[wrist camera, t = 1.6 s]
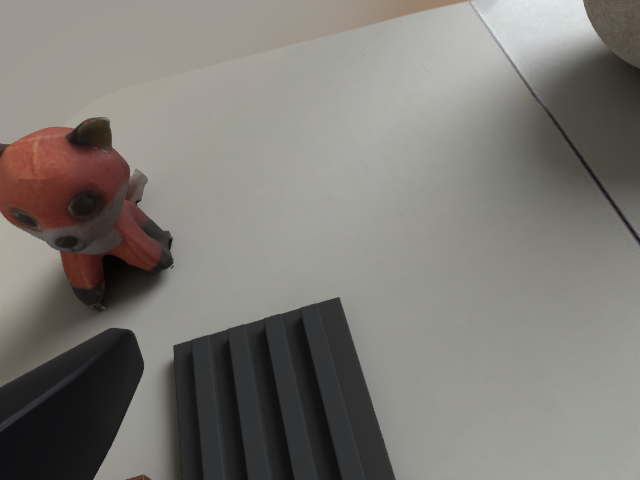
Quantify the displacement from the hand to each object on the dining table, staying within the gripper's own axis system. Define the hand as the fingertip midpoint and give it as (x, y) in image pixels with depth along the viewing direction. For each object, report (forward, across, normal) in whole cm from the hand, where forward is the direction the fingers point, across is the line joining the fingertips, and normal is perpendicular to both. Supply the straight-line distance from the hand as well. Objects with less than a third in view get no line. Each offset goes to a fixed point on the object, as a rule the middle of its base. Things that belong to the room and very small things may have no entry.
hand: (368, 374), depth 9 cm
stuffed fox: (+20, +20, +12) cm, 31 cm away
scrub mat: (+9, +6, +16) cm, 19 cm away
